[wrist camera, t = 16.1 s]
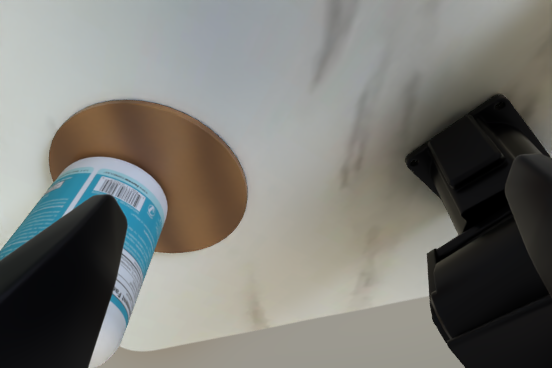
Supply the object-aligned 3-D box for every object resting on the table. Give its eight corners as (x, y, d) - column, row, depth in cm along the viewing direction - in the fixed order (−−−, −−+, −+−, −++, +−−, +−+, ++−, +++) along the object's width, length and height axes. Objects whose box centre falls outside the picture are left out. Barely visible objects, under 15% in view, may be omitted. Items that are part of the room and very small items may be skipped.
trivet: (221, 86, 20) (220, 90, 20) (262, 242, 29) (262, 247, 29) (9, 113, 22) (4, 117, 22) (106, 253, 31) (104, 258, 30)
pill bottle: (80, 225, 28) (-46, 428, 17) (48, 146, 23) (-152, 360, 13) (176, 233, 28) (108, 438, 18) (165, 155, 23) (61, 374, 13)
